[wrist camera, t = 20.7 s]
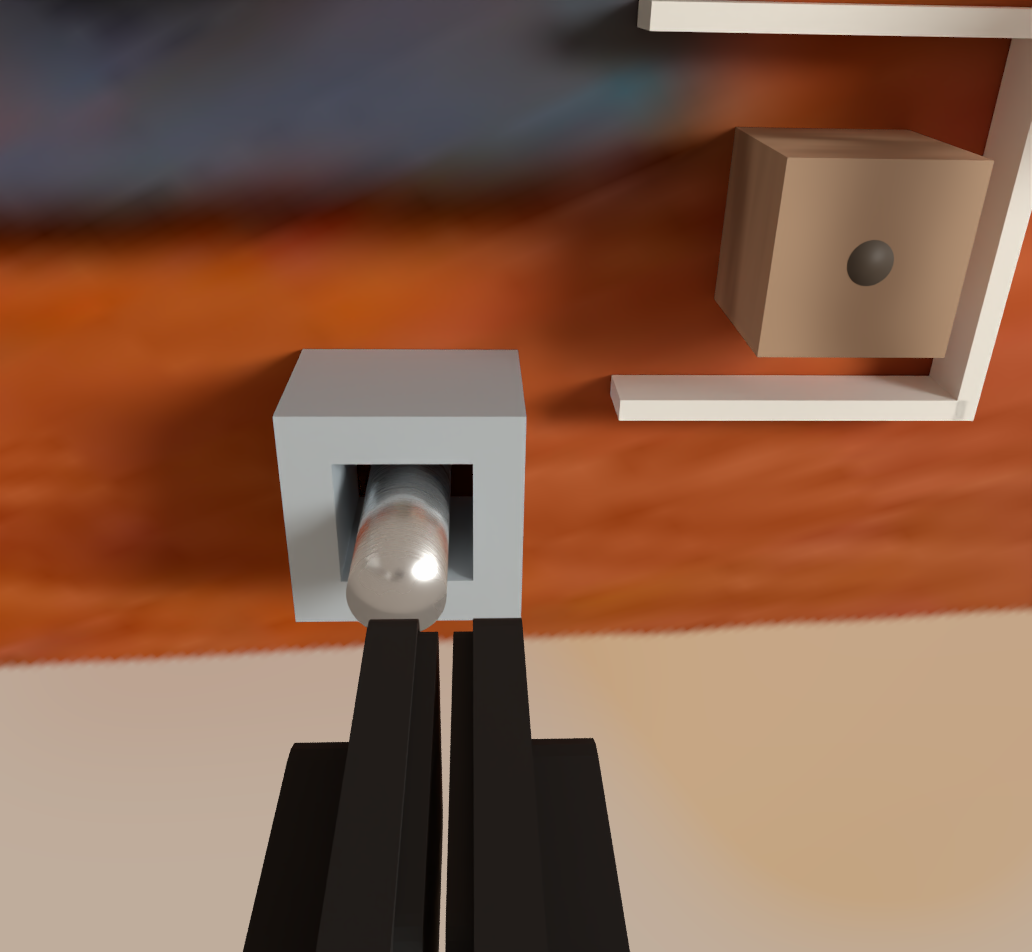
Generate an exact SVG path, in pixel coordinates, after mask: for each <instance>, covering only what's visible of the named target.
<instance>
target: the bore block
mask: <svg viewBox="0 0 1032 952" xmlns="http://www.w3.org/2000/svg"><path fill="white" fill-rule="evenodd" d="M273 425H274V434H275V442H276V451H277V460H278V469H279V478H280V486H281V495H282V504H283V513H284V522H285V530H286V539H287V548H288V557H289V565H290V574H291V583H292V592H293V601H294V609H295V618H296V622H319V621H358V620H357V619H356V618H355V617H354V615H353V614H352V612H351V611H350V609H349V607H348V604H347V599H346V588H347V583H348V578H349V573H350V568H351V563H352V558H353V553H354V548H355V543H356V538H357V533H358V528H359V523H360V518H361V513H362V508H363V503H364V498H365V497H359V489H358V474H357V464H473V496H450V520H449V546H448V573H447V598H446V604H445V608H444V610H443V612H442V614H441V615H440V617H439V618H438V619H437V620H473V618H521V593H522V557H523V520H524V483H525V447H526V410H525V402H524V394H523V386H522V378H521V370H520V362H519V354H518V350H405V349H303V350H302V352H301V354H300V356H299V359H298V361H297V363H296V365H295V368H294V370H293V372H292V374H291V377H290V379H289V381H288V383H287V385H286V388H285V390H284V392H283V394H282V397H281V399H280V401H279V403H278V406H277V408H276V410H275V412H274V415H273Z"/></svg>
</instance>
